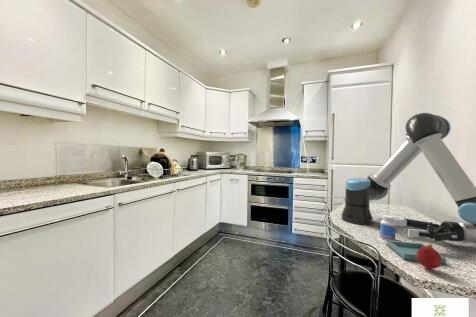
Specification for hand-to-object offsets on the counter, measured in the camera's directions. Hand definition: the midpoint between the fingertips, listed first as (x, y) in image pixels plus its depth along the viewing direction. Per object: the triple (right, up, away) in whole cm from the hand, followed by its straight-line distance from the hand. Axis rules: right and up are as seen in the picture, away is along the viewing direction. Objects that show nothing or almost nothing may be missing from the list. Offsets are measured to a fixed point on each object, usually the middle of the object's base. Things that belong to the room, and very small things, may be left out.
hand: (398, 226), depth 87 cm
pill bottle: (-4, -6, +2) cm, 7 cm away
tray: (-4, -6, -13) cm, 15 cm away
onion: (-9, -6, -23) cm, 25 cm away
